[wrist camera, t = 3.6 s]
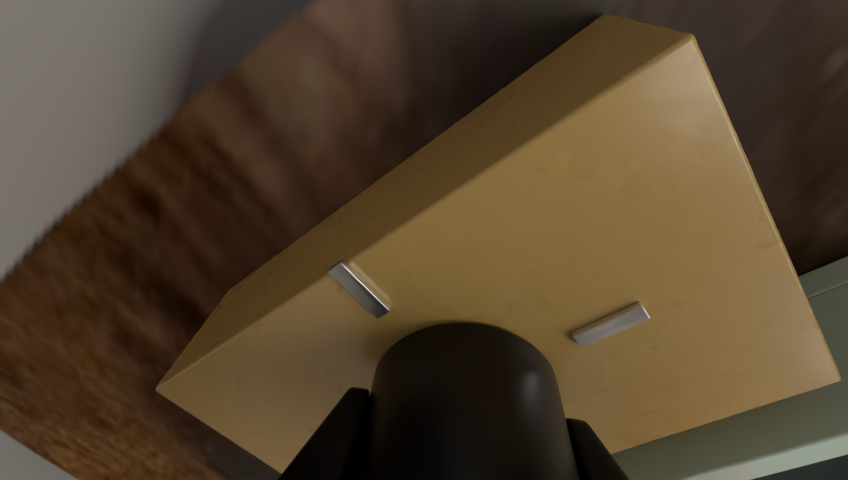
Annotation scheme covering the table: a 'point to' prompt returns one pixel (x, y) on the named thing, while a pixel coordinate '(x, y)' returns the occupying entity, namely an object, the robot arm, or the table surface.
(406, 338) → the black rotary knob
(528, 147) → the tap panel
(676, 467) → the divided tray
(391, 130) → the table surface
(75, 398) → the table surface
